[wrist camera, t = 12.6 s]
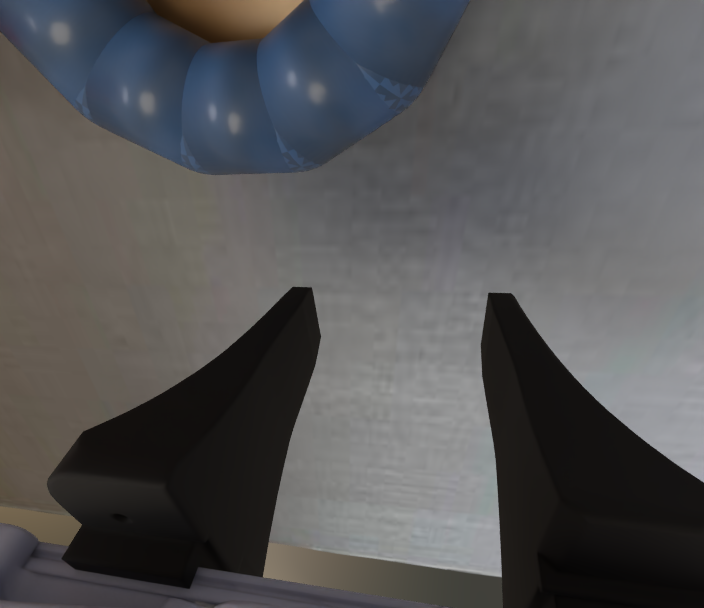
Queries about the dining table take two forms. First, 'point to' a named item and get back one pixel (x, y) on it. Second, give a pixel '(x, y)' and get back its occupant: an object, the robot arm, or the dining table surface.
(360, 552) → the dining table surface
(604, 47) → the dining table surface
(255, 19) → the stand
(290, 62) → the ring
